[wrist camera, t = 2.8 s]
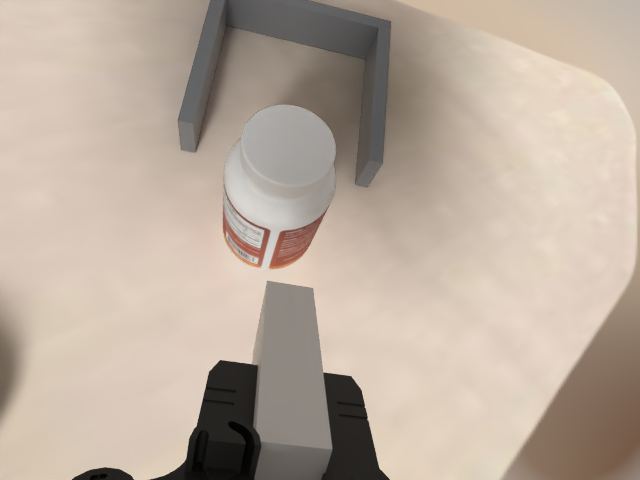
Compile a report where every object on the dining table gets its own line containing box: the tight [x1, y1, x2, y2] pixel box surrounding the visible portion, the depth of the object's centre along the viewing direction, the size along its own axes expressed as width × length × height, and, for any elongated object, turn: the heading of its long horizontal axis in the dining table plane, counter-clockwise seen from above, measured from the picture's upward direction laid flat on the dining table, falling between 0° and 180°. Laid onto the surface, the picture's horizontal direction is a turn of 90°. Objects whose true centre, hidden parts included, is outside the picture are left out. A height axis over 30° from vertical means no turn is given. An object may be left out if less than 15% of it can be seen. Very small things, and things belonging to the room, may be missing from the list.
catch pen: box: [178, 0, 391, 187], centre depth 36 cm, size 14×14×4 cm
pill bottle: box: [223, 104, 336, 270], centre depth 28 cm, size 6×6×11 cm
